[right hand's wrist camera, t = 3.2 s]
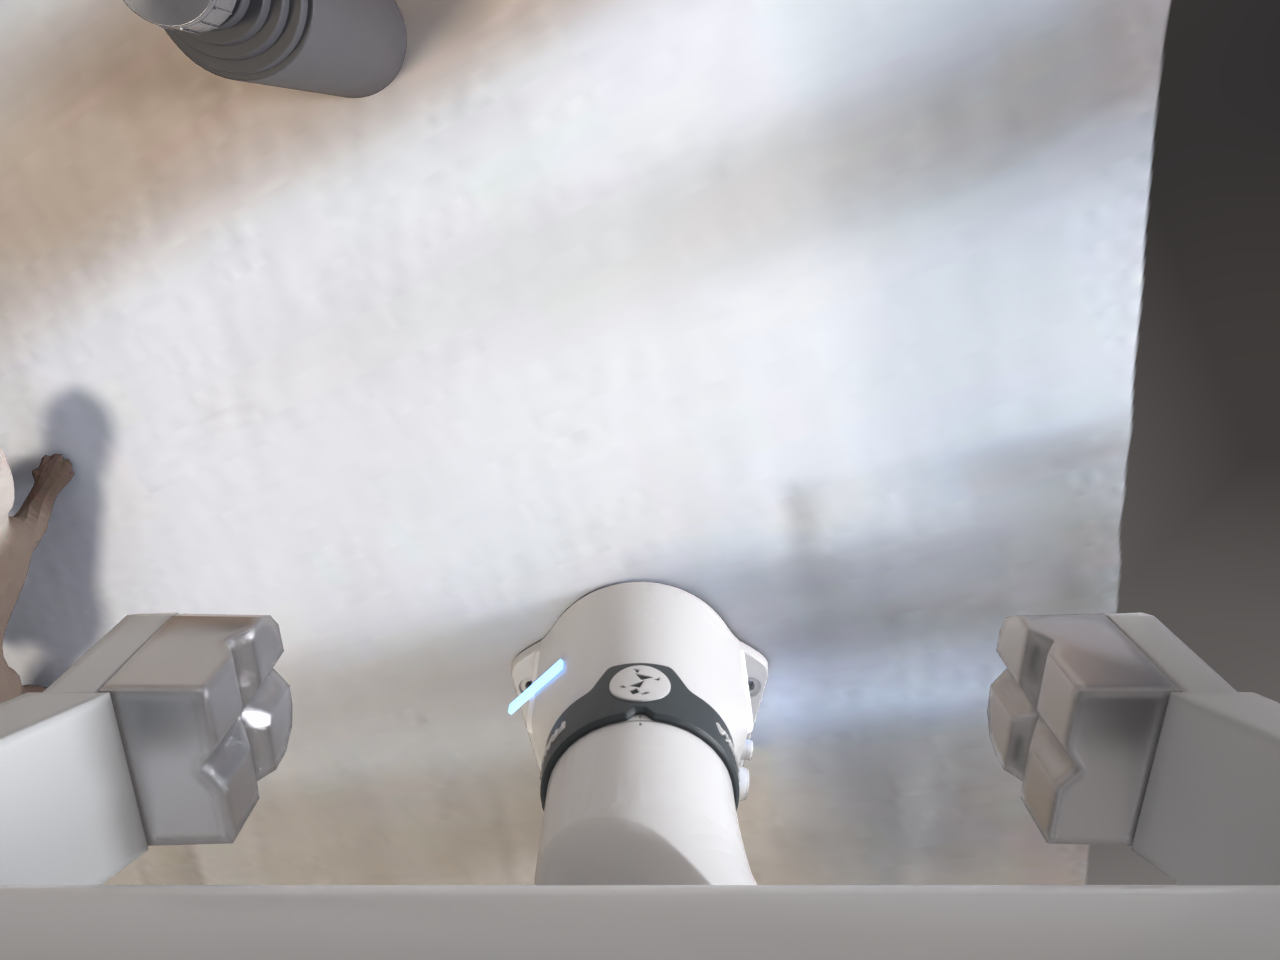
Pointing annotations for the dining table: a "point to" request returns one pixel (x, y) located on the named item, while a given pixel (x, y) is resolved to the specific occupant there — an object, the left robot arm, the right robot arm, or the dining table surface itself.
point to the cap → (184, 13)
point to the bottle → (304, 45)
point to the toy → (23, 545)
